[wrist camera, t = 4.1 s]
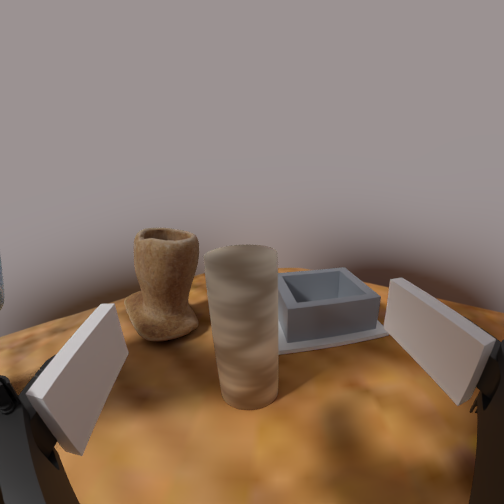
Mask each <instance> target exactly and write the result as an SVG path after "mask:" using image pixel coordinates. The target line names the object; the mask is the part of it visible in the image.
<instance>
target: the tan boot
mask: <svg viewBox="0 0 504 504" xmlns="http://www.w3.org/2000/svg"><path fill="white" fill-rule="evenodd" d="M198 257H199V243H198V239H197V237H196V235H194V234H192V233H190V232H187V231H182V230H175V229H170V228H148V229H143V230H141V231H140V232H138V233H137V235H136V237H135V240H134V265H135V272H136V275H137V278H138V281H139V284H140V287H141V291H139V292H136V293H133V294H132V295H130V296H128V297H127V298H126V299H125V301H124V304H125V307H126V311H127V313H128V315H129V317H130V320H131V322H132V324H133V326H134V328H135V329H136V331H137V332H138V334H139V335H140V336H141V337H142V338H144V339H145V340H148V341H165V340H171V339H175V338H178V337H181V336H183V335H187V334H188V333H190V332H191V331H192V330H194V329H196V328H197V327H198V319H197V317H196V315H195V313H194V311H193V310H192V309H191V307H190V306H189V305H188V297H189V292H190V288H191V284H192V281H193V278H194V275H195V272H196V268H197V264H198Z"/></svg>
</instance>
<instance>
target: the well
mask: <svg viewBox="0 0 504 504" xmlns="http://www.w3.org/2000/svg"><path fill="white" fill-rule="evenodd" d="M380 299H381V297H380V296H379V295H378V294H377V293H376V292H374V291H373V290H372V289H371V288H369V287H368V286H367V285H366V284H364V283H363V282H362V281H361V280H360V279H358V278H357V277H356V276H355V275H353V274H352V273H351V272H349V271H348V270H347V269H346V268H334V269H324V270H323V269H322V270H311V271H299V272H287V273H278V355H280V354H288V353H296V352H303V351H310V350H317V349H323V348H329V347H335V346H341V345H346V344H351V343H356V342H361V341H366V340H371V339H375V338H380V337H384V336H388V335H389V333H388V332H387V331H386V330H385V329H384V328H383V327H384V326H383V325H382V324H381V323H380V322H379V321H378V320H377V319H378V313H379V306H380Z"/></svg>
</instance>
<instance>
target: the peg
mask: <svg viewBox="0 0 504 504" xmlns="http://www.w3.org/2000/svg"><path fill="white" fill-rule="evenodd" d="M204 267H205V276H206V286H207V294H208V303H209V311H210V319H211V327H212V334H213V341H214V349H215V355H216V362H217V369H218V375H219V381H220V388H221V394H222V397H223V399H224V400H225V402H226V403H227V404H229V405H230V406H232V407H234V408H237V409H241V410H256V409H260V408H263V407H265V406H267V405H269V404H270V403H272V402H273V401H274V400H275V398H276V397H277V394H278V261H277V251H276V250H275V249H273V248H271V247H267V246H261V245H234V246H226V247H221V248H217V249H214V250H211V251H209V252H207V253H206V254H205V255H204Z"/></svg>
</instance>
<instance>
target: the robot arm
mask: <svg viewBox="0 0 504 504" xmlns="http://www.w3.org/2000/svg"><path fill="white" fill-rule="evenodd" d="M3 304H4V286H3V276H2V267H1V257H0V310H1V308H2V306H3ZM383 328H384V329H385V330H386V331H387V332H388V333H389V334H390V335H391V336H392V337H393V338H394V339H395V340H396V341H397V342H398V343H399V344H400V345H401V346H402V347H403V348H404V349H405V350H406V351H407V353H408V354H409V355H410V356H411V357H412V358H413V359H414V360H415V361H416V362H417V363H418V364H419V365H420V366H421V367H422V368H423V369H424V370H425V371H426V372H427V373H428V374H429V375H430V377H431V378H432V379H433V380H434V381H435V382H436V383H437V384H438V385H439V386H440V387H441V388H442V389H443V391H444V392H445V393H446V394H447V395H448V396H449V397H450V398H451V399H452V400H453V401H454V403H455V404H456V405H457V406H459V405H461V404H462V403H464V402H466V401H467V400H469V399H470V398H471V396H472V394H473V392H474V390H475V388H476V387H477V388H478V389H479V390H480V392H479V394H478V396H477V398H476V400H475V402H474V403H473V405H472V407H471V409H470V413H472V412H473V410H474V408H475V407H476V406H477V410H476V411H475V413H478V425H477V449H476V461H475V470H474V477H473V484H472V490H471V495H470V500H469V504H504V340H503V341H502V342H500V341H499V340H497V339H496V338H495V337H493V336H492V335H490V334H489V333H488V332H486V331H485V330H483V329H482V328H479V326H477V325H476V324H473V322H472V321H470V320H469V319H467V318H466V317H463V316H462V315H460V314H459V313H457V312H456V311H454V310H453V309H451V308H449V307H448V306H446V305H445V304H443V303H442V302H440V301H439V300H437V299H436V298H434V297H432V296H431V295H429V294H428V293H426V292H424V291H423V290H421V289H420V288H418V287H416V286H415V285H413V284H412V283H410V282H408V281H407V280H405V279H403V278H397V279H391V280H390V285H389V294H388V301H387V308H386V315H385V321H384V327H383ZM128 354H129V352H128V349H127V346H126V343H125V340H124V336H123V333H122V329H121V326H120V322H119V319H118V315H117V311H116V307H115V304H100V306H99V307H98V308H97V309H96V310H95V311H94V312H93V313H92V314H91V315H90V316H89V318H88V319H87V320H86V321H85V322H84V323H83V324H82V325H81V326H80V328H79V329H78V330H77V331H76V332H75V333H74V334H73V336H72V337H71V338H70V339H69V340H68V341H67V343H66V344H65V345H64V346H63V347H62V348H61V350H60V351H59V352H58V353H57V354H56V355H54V356H53V357H51V358H50V359H48V360H47V361H46V362H45V363H44V364H43V365H42V367H41V368H40V370H38V371H37V373H36V374H35V377H34V376H33V378H32V379H31V380H30V382H29V383H28V384H27V385H26V387H25V388H24V389H23V391H22V392H21V393H20V395H19V396H18V395H17V393H16V391H15V390H14V388H13V386H12V384H11V383H10V381H9V379H8V378H7V377H6V376H2V375H0V504H80V503H79V501H78V499H77V497H76V495H75V493H74V491H73V489H72V487H71V484H70V482H69V480H68V477H67V475H66V472H65V470H64V467H63V465H62V462H61V460H60V457H59V454H58V452H57V451H56V449H55V448H54V446H55V444H56V442H58V443H59V444H60V445H61V447H62V448H63V449H64V450H65V451H66V452H70V453H73V454H77V455H80V456H82V455H83V453H84V450H85V448H86V445H87V443H88V441H89V438H90V436H91V433H92V431H93V429H94V426H95V424H96V422H97V419H98V417H99V415H100V413H101V410H102V408H103V406H104V404H105V402H106V399H107V397H108V395H109V393H110V391H111V389H112V387H113V384H114V382H115V380H116V378H117V376H118V374H119V372H120V370H121V368H122V366H123V364H124V362H125V360H126V358H127V356H128Z"/></svg>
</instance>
